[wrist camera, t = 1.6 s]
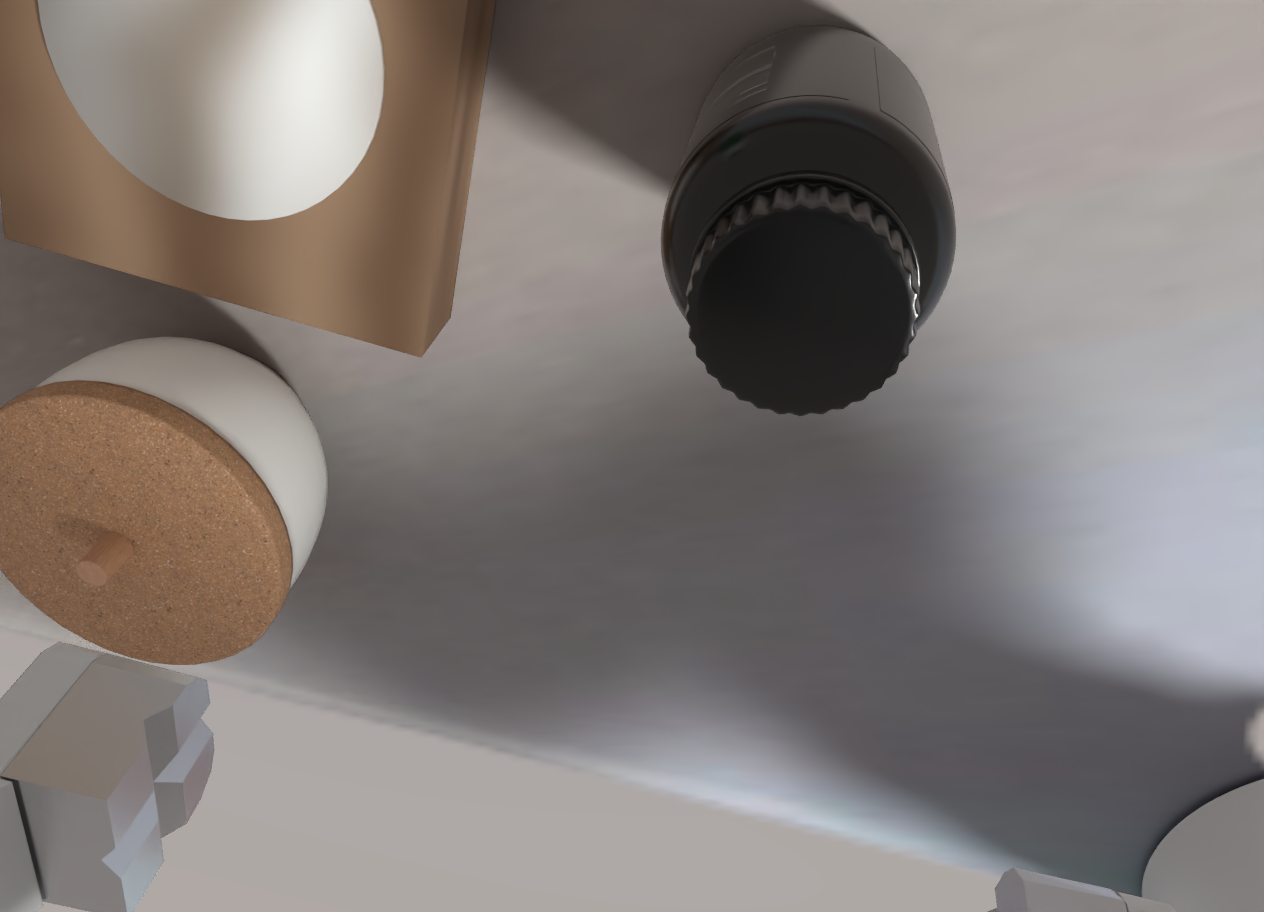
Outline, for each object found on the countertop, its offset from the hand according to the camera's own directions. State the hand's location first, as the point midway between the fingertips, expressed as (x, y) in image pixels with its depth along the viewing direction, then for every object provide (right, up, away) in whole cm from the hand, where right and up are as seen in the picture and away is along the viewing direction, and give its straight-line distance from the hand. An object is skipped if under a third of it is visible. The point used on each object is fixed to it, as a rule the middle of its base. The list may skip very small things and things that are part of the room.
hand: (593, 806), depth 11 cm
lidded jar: (-15, +5, +31) cm, 34 cm away
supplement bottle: (+6, +13, +21) cm, 26 cm away
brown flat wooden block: (-11, +17, +22) cm, 30 cm away
